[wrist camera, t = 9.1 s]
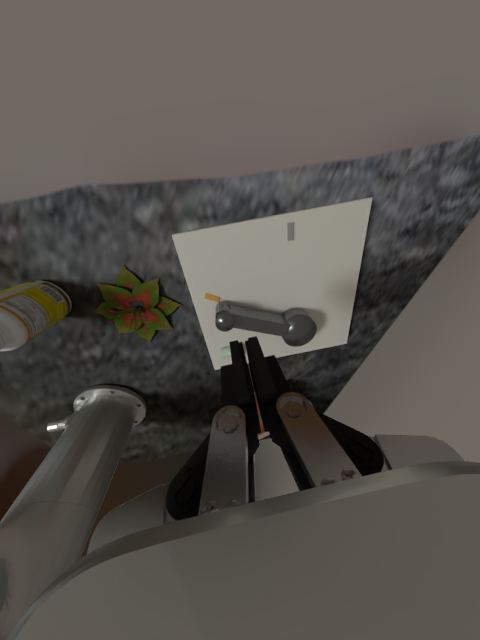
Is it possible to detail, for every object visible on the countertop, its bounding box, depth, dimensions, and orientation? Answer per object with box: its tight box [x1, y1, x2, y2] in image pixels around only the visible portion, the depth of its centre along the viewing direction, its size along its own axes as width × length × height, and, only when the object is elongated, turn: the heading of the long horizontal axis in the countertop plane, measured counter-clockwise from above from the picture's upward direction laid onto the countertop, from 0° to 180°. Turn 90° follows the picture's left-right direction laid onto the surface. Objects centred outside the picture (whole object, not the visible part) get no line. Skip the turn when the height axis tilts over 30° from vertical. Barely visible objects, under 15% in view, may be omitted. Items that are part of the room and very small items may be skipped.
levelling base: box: [172, 198, 372, 370], centre depth 27 cm, size 24×22×4 cm
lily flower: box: [93, 264, 181, 343], centre depth 26 cm, size 12×12×5 cm
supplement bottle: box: [0, 280, 72, 351], centre depth 21 cm, size 6×6×10 cm
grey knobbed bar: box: [215, 301, 317, 347], centre depth 26 cm, size 15×5×4 cm, turn 74°
